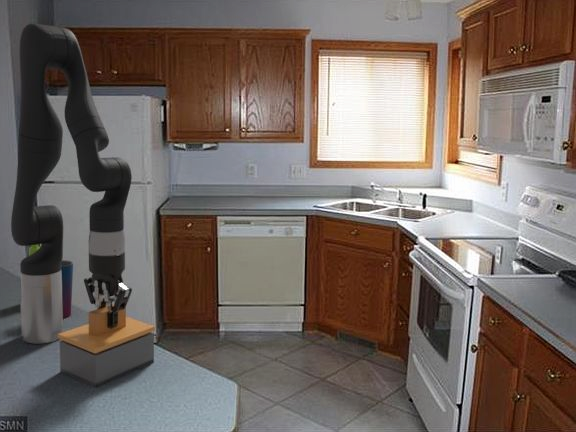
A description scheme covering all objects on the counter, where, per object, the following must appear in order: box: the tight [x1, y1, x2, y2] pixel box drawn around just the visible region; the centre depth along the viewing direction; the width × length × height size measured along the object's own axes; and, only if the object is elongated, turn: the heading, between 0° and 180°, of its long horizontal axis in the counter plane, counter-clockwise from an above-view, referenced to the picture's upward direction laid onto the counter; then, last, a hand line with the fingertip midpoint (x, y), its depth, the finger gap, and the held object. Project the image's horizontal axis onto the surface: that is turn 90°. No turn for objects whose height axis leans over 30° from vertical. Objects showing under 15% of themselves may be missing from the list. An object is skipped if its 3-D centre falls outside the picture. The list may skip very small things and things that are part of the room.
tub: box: [59, 331, 155, 388], centre depth 126 cm, size 12×16×7 cm
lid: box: [58, 303, 156, 354], centre depth 125 cm, size 12×16×7 cm
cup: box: [61, 259, 74, 319], centre depth 155 cm, size 7×7×15 cm
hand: (107, 325), depth 125 cm, fingers closed on lid, 2 cm apart
